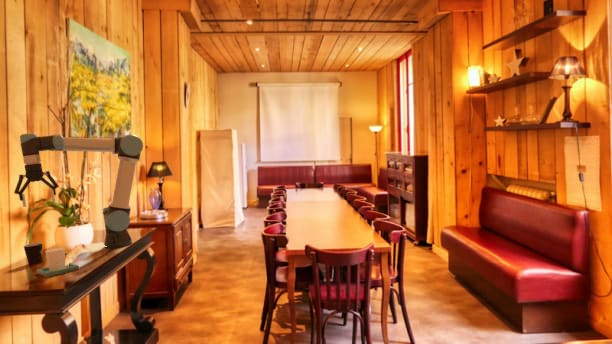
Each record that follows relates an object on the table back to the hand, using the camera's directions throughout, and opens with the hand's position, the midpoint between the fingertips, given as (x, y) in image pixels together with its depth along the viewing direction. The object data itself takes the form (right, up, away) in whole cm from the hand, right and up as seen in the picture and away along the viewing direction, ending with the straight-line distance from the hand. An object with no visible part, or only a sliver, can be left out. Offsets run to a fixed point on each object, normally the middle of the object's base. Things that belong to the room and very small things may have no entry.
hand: (39, 204), depth 240 cm
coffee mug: (-4, -32, +6) cm, 33 cm away
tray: (+20, -31, -20) cm, 42 cm away
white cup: (+20, -30, -20) cm, 42 cm away
